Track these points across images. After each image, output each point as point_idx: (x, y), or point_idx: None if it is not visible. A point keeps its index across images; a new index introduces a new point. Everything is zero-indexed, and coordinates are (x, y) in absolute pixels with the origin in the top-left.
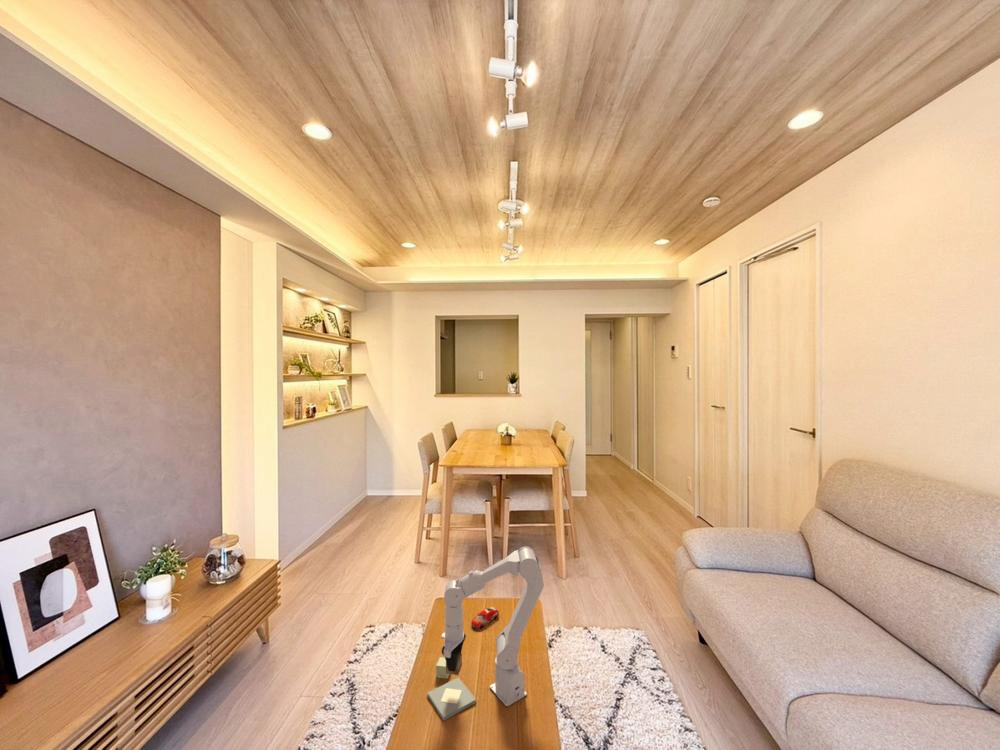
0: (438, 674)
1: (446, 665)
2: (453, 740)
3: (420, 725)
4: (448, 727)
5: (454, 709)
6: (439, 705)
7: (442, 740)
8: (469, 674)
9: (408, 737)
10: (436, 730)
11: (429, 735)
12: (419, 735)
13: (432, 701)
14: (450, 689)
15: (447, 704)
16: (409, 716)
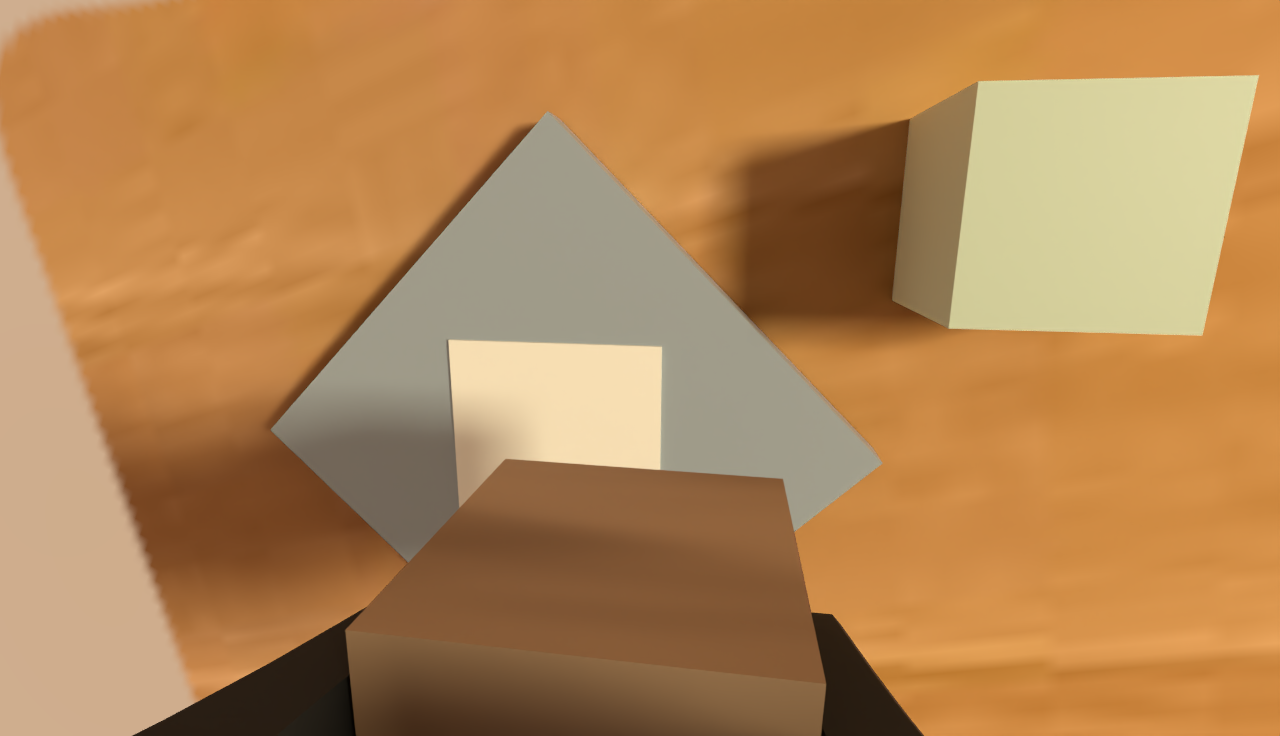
0: (918, 153)
1: (425, 560)
2: (150, 552)
3: (181, 194)
4: (247, 481)
5: (388, 519)
6: (397, 341)
7: (119, 460)
8: (992, 564)
9: (31, 121)
10: (185, 378)
11: (120, 328)
12: (87, 228)
13: (447, 230)
14: (646, 412)
15: (430, 430)
16: (239, 11)
